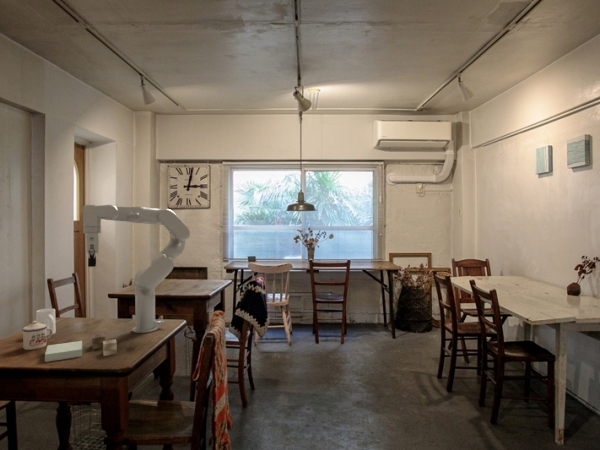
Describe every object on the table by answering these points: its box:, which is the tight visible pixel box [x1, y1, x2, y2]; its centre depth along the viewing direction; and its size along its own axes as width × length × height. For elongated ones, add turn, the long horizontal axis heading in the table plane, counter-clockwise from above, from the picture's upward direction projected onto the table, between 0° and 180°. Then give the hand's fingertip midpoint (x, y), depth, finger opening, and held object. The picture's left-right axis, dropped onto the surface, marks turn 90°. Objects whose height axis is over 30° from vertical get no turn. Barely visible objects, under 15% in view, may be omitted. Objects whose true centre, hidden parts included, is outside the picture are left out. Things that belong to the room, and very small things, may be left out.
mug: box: [35, 307, 57, 337], centre depth 193 cm, size 8×12×12 cm
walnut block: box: [91, 333, 106, 350], centre depth 174 cm, size 5×5×5 cm
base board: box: [44, 340, 83, 363], centre depth 165 cm, size 13×13×3 cm
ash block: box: [102, 338, 118, 357], centre depth 166 cm, size 5×5×5 cm
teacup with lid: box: [22, 320, 53, 351], centre depth 176 cm, size 12×9×12 cm
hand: (92, 265), depth 187 cm, fingers open, 9 cm apart
